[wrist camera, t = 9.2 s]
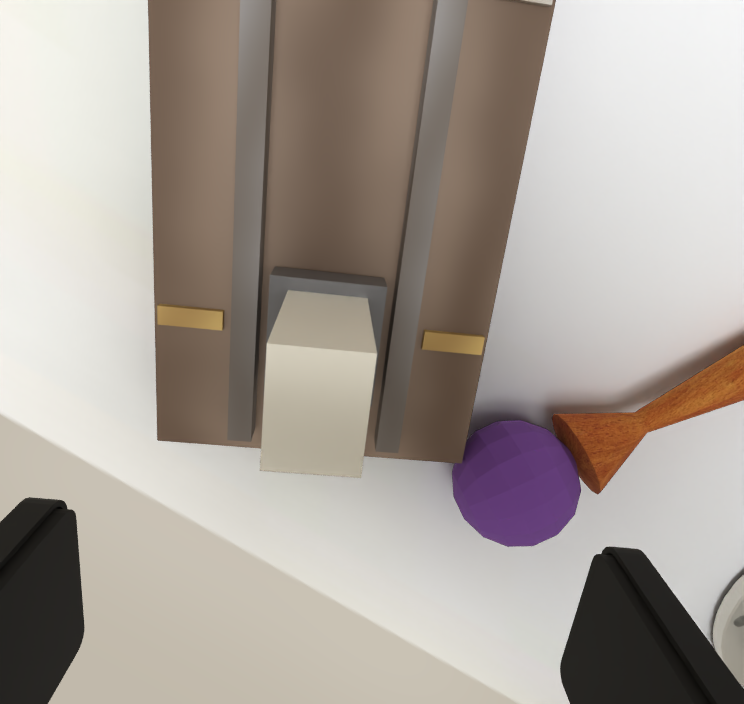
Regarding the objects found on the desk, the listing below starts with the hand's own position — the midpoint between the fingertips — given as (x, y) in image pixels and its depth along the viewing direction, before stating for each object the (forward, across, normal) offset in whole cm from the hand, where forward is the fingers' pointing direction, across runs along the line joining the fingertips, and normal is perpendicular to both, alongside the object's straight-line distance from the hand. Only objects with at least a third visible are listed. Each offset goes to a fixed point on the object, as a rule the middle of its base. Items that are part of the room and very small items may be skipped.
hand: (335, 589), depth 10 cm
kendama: (+18, -15, +3) cm, 23 cm away
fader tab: (+14, +1, -1) cm, 14 cm away
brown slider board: (+17, +1, -6) cm, 18 cm away
